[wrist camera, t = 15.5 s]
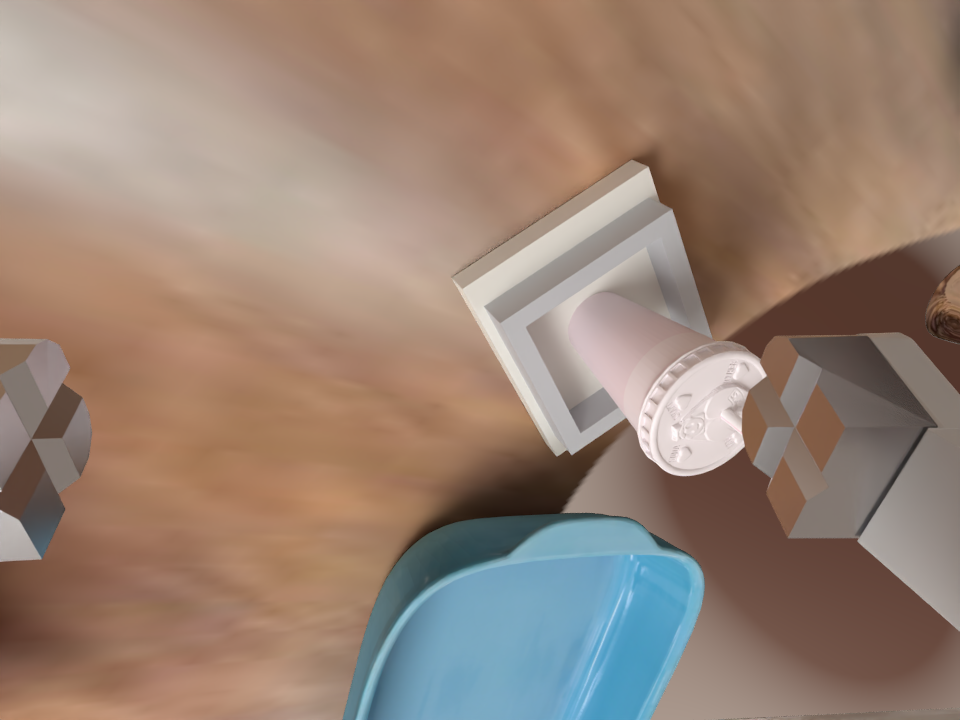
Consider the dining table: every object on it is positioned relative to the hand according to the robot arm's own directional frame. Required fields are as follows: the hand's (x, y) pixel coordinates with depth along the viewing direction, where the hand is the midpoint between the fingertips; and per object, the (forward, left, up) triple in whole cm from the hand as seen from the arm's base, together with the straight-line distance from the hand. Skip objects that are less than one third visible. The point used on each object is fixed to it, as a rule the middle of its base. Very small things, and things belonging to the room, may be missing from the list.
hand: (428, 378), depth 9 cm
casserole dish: (+9, +40, -25) cm, 48 cm away
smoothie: (-9, +19, -23) cm, 31 cm away
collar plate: (-9, +19, -24) cm, 32 cm away
